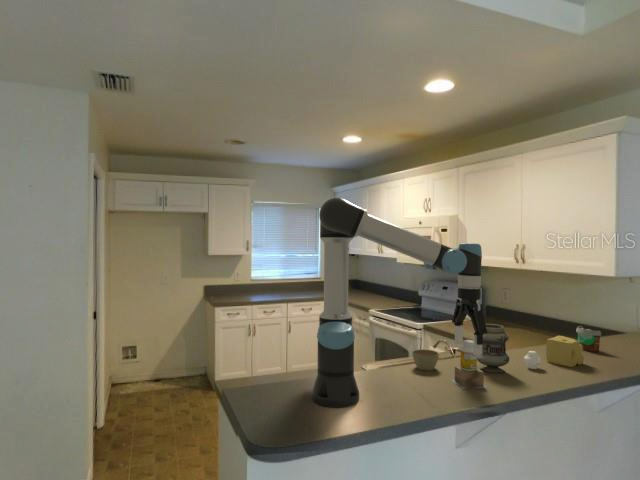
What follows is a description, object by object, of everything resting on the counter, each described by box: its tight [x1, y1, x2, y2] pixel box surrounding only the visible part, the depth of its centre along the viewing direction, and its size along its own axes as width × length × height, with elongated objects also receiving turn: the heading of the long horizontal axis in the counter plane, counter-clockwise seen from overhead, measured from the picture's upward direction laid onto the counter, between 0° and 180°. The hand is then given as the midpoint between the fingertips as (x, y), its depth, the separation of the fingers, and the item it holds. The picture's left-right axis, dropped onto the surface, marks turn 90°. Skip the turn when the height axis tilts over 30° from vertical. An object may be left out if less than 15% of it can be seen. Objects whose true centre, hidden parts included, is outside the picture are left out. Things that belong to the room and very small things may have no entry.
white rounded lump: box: [523, 350, 542, 370], centre depth 169 cm, size 6×6×7 cm
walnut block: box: [454, 365, 485, 387], centre depth 147 cm, size 7×7×5 cm
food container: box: [575, 325, 602, 353], centre depth 198 cm, size 12×6×10 cm, turn 6°
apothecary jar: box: [477, 323, 510, 373], centre depth 163 cm, size 12×12×18 cm
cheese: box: [545, 335, 585, 368], centre depth 176 cm, size 10×11×10 cm
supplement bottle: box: [460, 339, 478, 371], centre depth 147 cm, size 5×5×10 cm
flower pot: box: [412, 349, 440, 371], centre depth 164 cm, size 10×10×7 cm
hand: (467, 348), depth 147 cm, fingers open, 13 cm apart
